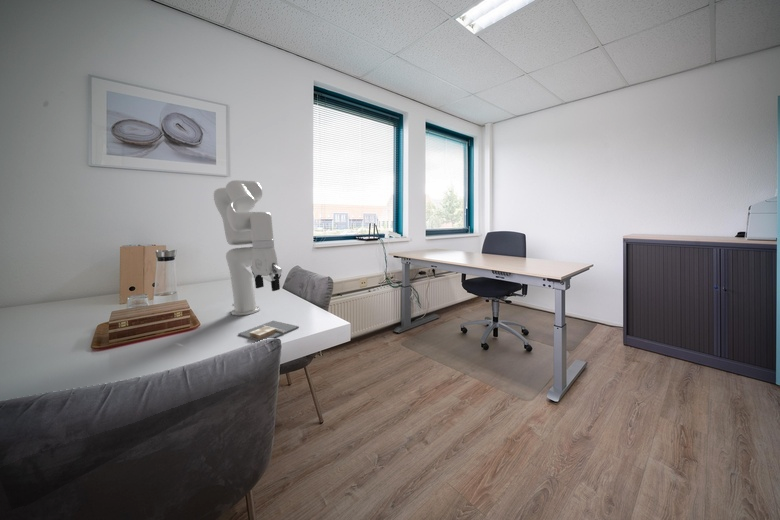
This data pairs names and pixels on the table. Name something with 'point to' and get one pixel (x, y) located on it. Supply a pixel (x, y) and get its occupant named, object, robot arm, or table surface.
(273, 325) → the mat
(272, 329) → the tile
